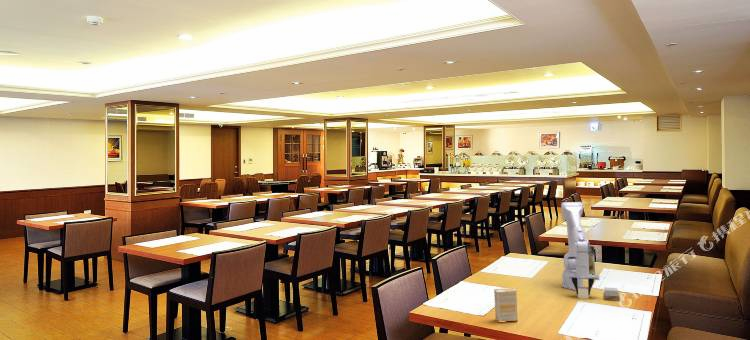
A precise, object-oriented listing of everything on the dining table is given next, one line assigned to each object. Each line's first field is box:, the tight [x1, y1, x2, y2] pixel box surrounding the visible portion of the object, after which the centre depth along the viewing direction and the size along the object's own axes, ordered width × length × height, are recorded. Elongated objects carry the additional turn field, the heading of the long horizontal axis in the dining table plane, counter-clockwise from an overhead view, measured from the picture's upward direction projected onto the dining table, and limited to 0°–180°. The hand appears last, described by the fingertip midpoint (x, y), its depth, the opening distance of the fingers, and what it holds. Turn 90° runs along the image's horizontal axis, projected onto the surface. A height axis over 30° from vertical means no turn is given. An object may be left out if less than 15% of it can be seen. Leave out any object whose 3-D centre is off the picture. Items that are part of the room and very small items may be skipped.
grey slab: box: [604, 287, 619, 296], centre depth 230 cm, size 6×6×2 cm
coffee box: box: [573, 245, 596, 275], centre depth 279 cm, size 9×6×16 cm
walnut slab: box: [603, 291, 621, 302], centre depth 230 cm, size 6×6×2 cm
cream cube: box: [577, 286, 589, 300], centre depth 234 cm, size 4×4×4 cm
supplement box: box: [493, 287, 518, 322], centre depth 204 cm, size 8×5×13 cm, turn 92°
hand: (583, 294), depth 234 cm, fingers closed on cream cube, 4 cm apart
